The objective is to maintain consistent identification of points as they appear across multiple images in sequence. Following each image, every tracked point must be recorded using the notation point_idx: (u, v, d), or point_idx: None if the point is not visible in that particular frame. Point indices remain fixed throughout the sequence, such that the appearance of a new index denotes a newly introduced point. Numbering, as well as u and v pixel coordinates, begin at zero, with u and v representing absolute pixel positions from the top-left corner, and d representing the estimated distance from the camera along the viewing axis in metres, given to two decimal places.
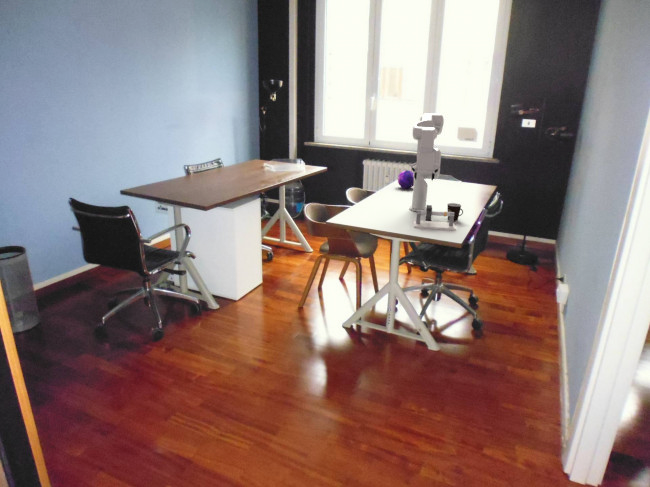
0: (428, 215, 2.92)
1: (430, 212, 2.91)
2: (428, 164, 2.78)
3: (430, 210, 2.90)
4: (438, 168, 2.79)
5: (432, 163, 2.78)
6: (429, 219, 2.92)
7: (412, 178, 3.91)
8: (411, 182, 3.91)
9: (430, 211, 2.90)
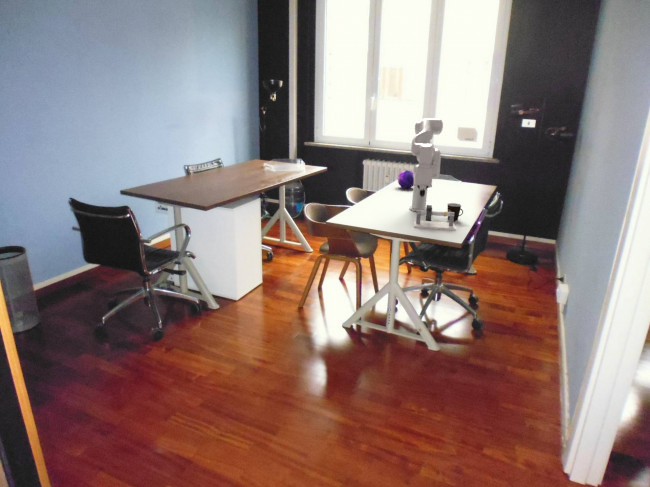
0: (428, 215, 2.92)
1: (430, 212, 2.91)
2: (426, 179, 2.86)
3: (430, 210, 2.90)
4: (429, 186, 2.89)
5: (430, 178, 2.86)
6: (429, 219, 2.92)
7: (412, 178, 3.91)
8: (411, 182, 3.91)
9: (430, 211, 2.90)
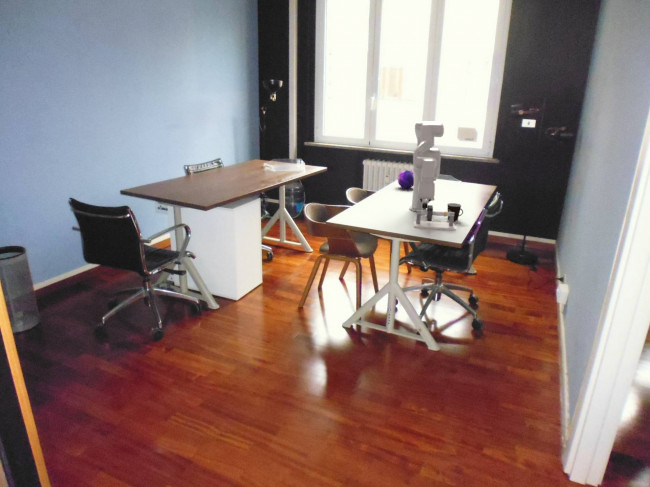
0: (429, 215, 2.91)
1: (431, 212, 2.91)
2: (429, 193, 2.89)
3: (431, 210, 2.90)
4: (432, 200, 2.91)
5: (432, 192, 2.88)
6: (430, 219, 2.92)
7: (412, 178, 3.91)
8: (411, 182, 3.91)
9: (431, 211, 2.90)
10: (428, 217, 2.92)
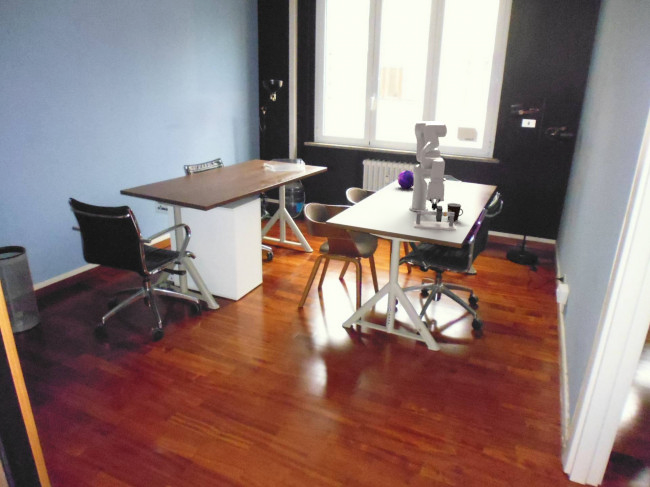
0: (438, 216, 2.91)
1: (440, 213, 2.90)
2: (438, 193, 2.88)
3: (440, 211, 2.89)
4: (441, 200, 2.91)
5: (442, 192, 2.88)
6: (439, 220, 2.91)
7: (412, 178, 3.91)
8: (411, 182, 3.91)
9: (440, 212, 2.90)
10: (437, 218, 2.91)
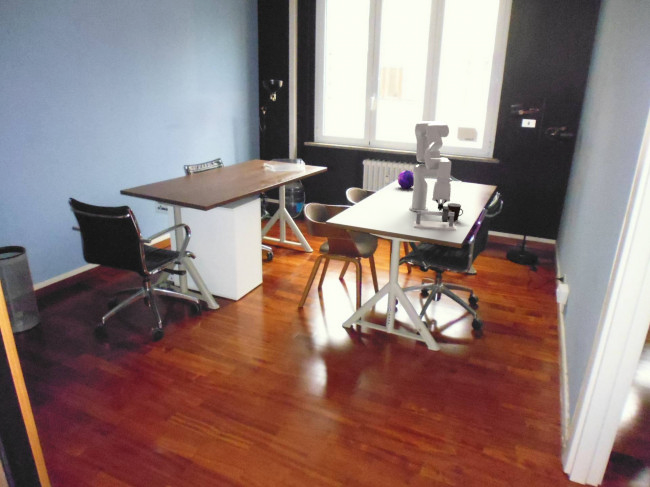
0: (445, 216, 2.90)
1: (447, 213, 2.89)
2: (445, 194, 2.87)
3: (447, 211, 2.89)
4: (447, 200, 2.90)
5: (448, 193, 2.87)
6: (446, 220, 2.91)
7: (412, 178, 3.91)
8: (411, 182, 3.91)
9: (447, 212, 2.89)
10: (444, 218, 2.90)
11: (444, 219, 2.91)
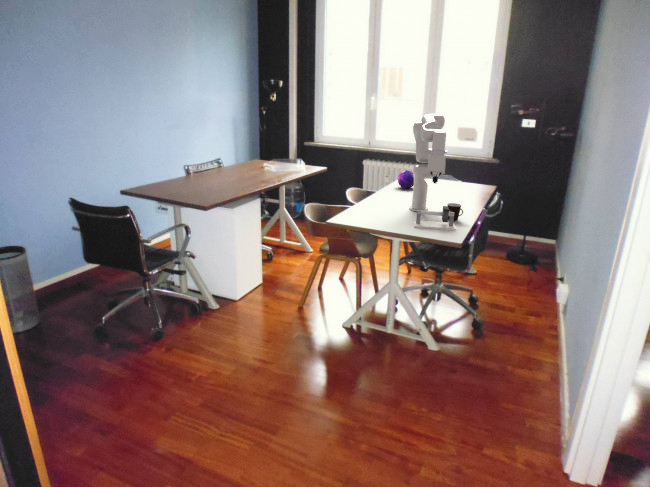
0: (445, 216, 2.90)
1: (447, 213, 2.89)
2: (439, 166, 2.83)
3: (447, 211, 2.89)
4: (442, 173, 2.86)
5: (443, 165, 2.83)
6: (446, 220, 2.91)
7: (412, 178, 3.91)
8: (411, 182, 3.91)
9: (447, 212, 2.89)
10: (444, 218, 2.90)
11: (444, 219, 2.91)
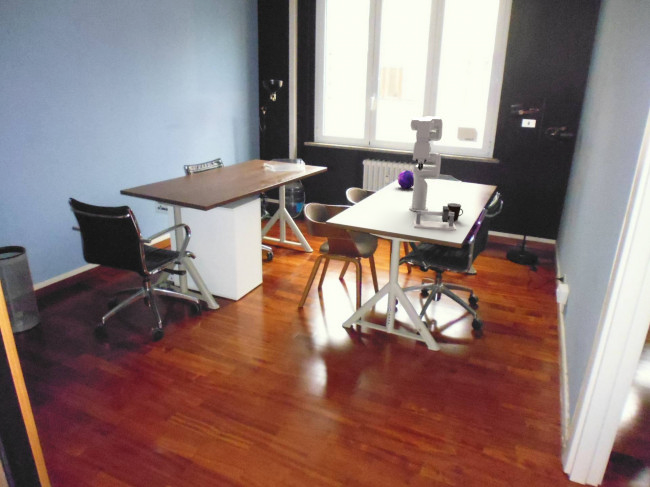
0: (445, 216, 2.90)
1: (447, 213, 2.89)
2: (424, 153, 2.95)
3: (447, 211, 2.89)
4: (427, 160, 2.98)
5: (428, 152, 2.95)
6: (446, 220, 2.91)
7: (412, 178, 3.91)
8: (411, 182, 3.91)
9: (447, 212, 2.89)
10: (444, 218, 2.90)
11: (444, 219, 2.91)
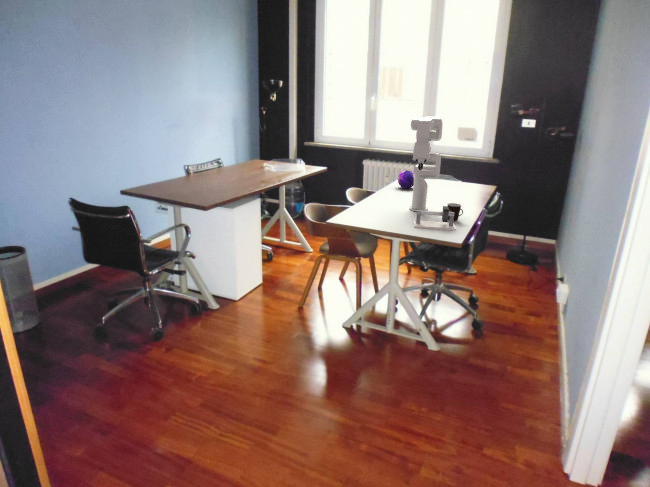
0: (445, 216, 2.90)
1: (447, 213, 2.89)
2: (424, 153, 2.95)
3: (447, 211, 2.89)
4: (427, 160, 2.98)
5: (428, 152, 2.95)
6: (446, 220, 2.91)
7: (412, 178, 3.91)
8: (411, 182, 3.91)
9: (447, 212, 2.89)
10: (444, 218, 2.90)
11: (444, 219, 2.91)
